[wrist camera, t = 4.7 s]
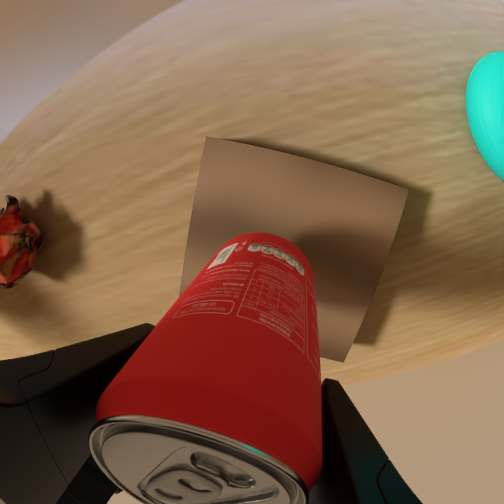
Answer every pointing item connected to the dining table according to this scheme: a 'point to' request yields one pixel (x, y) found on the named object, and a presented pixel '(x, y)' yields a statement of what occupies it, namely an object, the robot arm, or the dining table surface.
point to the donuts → (488, 109)
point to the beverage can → (222, 388)
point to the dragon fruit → (16, 244)
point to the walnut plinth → (299, 225)
